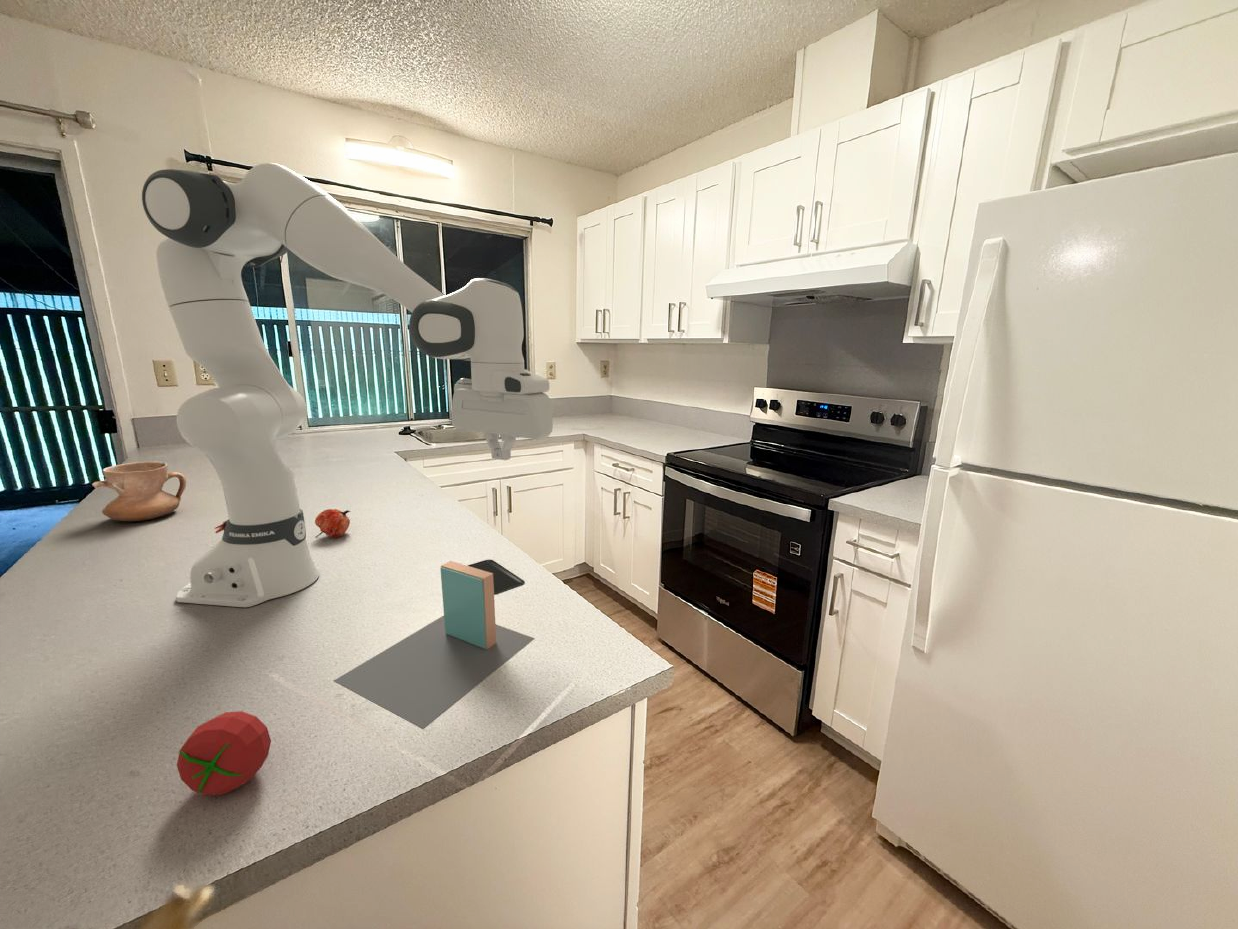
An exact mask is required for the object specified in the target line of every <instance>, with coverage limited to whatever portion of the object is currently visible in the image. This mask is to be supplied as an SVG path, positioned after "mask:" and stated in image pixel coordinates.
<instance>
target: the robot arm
mask: <svg viewBox="0 0 1238 929" xmlns="http://www.w3.org/2000/svg"><path fill="white" fill-rule="evenodd" d="M141 190H142V191H141V201H142V202H141V203H142V207H143V211H144V213H145V215H146V217H147V219H148V221H149V222H150V223H151V225H152V226H153V227H154V228H155V230H157V231H158V232H159V233H161V234H162V235H163V236H165V237H167V238H166V239H163V241H160V242H159V244H158V245H157V247H156V253H155V254H156V263H157V270H158V275H159V280H160V284H161V288H162V291H163V295H164V298H165V300H166V303H167V306H168V310H169V311H170V314H171V317H172V321H173V322H174V325H175V327H176V330H177V333H178V336H179V338H180V341H181V344H182V346H183V348H184V351H185V353H186V355H187V356H188V357H189V359H191V360H193V362H195V363H196V364H198V365H200V366H201V367H202V368H204V370H205V371H206V372H207V373H208V374H209V376H211V378H212V380H213V381H214V382H215V383H216V384H217V386H218V387H216V388H210V389H208V390H204V391H202V392H199V393H198V394H196V395H194V396H192V397H190V398H188V399H186V400H185V401H184V402H182V404H181V405H180V406H179V409H178V411H177V413H176V427H177V429H178V431H179V434H180V435H181V437H182V438H183V439H184V441H186V443H188V444H189V445H190V446H192V447H193V448H195V449H196V450H199V451H200V452H202V453H203V454H204V455H205V456H206V457H207V459H208V460H209V462H210V463H211V465H212V467H213V468H214V470H215V471H216V474H217V476H218V478H219V480H220V481H219V482H221V486H222V490H223V494H224V500H225V503H226V504H225V505H226V509H227V510H226V511H227V514H228V519H227V520H225V521H223V522H222V524H220V525H217V526H216V527H214V530H216V531H215V532H214V533H215V534H218V533H220V532H222V531H223V534H222V538H221V540H220V541H219V542H217V543H216V544H215V545H213V546H212V547H211V548H210V549H208V550H207V551H205V553H203V554H202V555H201V556H199V558H197V559H196V560H195V561H194V562H193V564H192V566H191V570H190V577H189V579H190V582H188V583H186V585H184V586H183V587H182V588H181V589H180V590H179V591H177V593H176V596H175V597H176V598H175V600H176V602H177V603H184V604H185V603H186V604H197V605H209V606H210V605H211V606H221V607H222V606H223V607H224V606H225V607H235V608H236V607H237V608H249V607H253V606H256V605H258V604H261V603H264V602H266V601H269V600H272V599H276V598H280V597H285V596H287V595H290V594H293V593H296V592H299V591H300V590H303V589H305V588H307V587H309V586H310V585H312V584H313V583H315V582H316V581H317V579H318V578H319V575H320V572H319V570H318V569H317V567H316V565H315V562H314V561H313V558H312V555H311V553H310V550H309V547H308V543H307V530H306V523H305V517H304V512H303V510H302V509H301V506H300V499H299V492H298V486H297V480H296V479H297V478H296V475H295V472H294V471H293V469H291V468H290V467H288V466H287V465H286V464H285V463H284V462H283V460H282V458H281V456H280V453H279V452H278V450H277V447H276V443H275V440H279V439H281V438H285V437H287V436H289V435H290V434H292V433H294V432H295V430H296V431H297V429H298V428H300V426H302V424H304V422H305V420H306V418H307V414H308V408H307V403H306V401H305V399H304V397H303V396H302V395H301V394H300V393H299V391H297V390H296V389H294V388H293V387H292V386H291V385H290V384H289V383H288V381H287V380H286V378H285V377H284V376H283V375H282V373H281V370H280V369H279V368H278V366H277V365H276V363H275V361H274V360H273V359H272V358H273V357H272V356H271V354H270V353H269V351H268V349H267V347H266V345H265V343H264V341H263V338H262V336H261V332H260V329H259V327H258V325H257V322H256V318H255V316H254V312H253V309H252V307H251V304H250V302H249V301H250V300H249V297H248V296H247V292H246V289H245V288H244V287H245V286H244V284H243V279H242V270H243V267H244V266H245V265H246V266H248V267H250V268H254V269H255V268H259V267H262V266H263V265H265V264H266V263H268V262H270V261H272V260H276V259H278V258H281V257H283V256H284V255H286V254H287V253H288V252H289V251H290V252H292V254H294V255H295V256H297V257H298V258H299V259H301V260H302V261H303V262H305V263H306V264H308V265H309V266H310V267H313V268H314V269H316V270H318V271H320V272H322V273H324V274H325V275H327V276H330V277H332V278H334V279H337V280H341V281H343V282H346V283H349V284H354V285H356V286H360V287H363V288H368V289H370V290H373V291H376V292H377V293H380V294H383V295H385V296H387V297H388V298H390V299H392V300H394V301H395V302H397V303H398V304H400V305H401V306H402V307H403V308H405V309H406V310H408V311H409V312H410V313H411V314H410V317H409V321H408V331H409V336H410V339H411V340H412V343H413V344H414V346H415V348H417V350H419V351H420V352H421V353H422V354H424V355H426V356H427V357H431V358H434V359H438V360H439V359H440V360H461V361H467V362H470V369H471V370H470V372H471V373H470V375H471V376H470V377H471V378H465V377H462V378H459V380H457V381H456V383H455V384H454V387H453V392H454V393H453V395H452V402H451V424H452V426H453V428H455V430H459V431H467V432H475V433H476V432H477V433H484V434H485V440H486V443H487V444H488V447H489V448H490V449H491V450H490V452H491V454H490V455H491V458H492V459H495V460H501V461H508V460H510V459H511V457H512V455H511V454H512V452H511V451H512V449H513V446H514V444H515V443H516V438H523V439H530V440H541V439H542V440H543V439H546V438H549V437H550V435H551V434H552V432H553V424H554V423H553V421H554V420H553V408H552V406H553V405H552V400H551V398H550V397H549V395H547V394H546V393H548V392H549V390H550V381H549V380H548V379H547V378H545V377H542V376H541V375H538V374H536V373H534V372H532V371H530V370H528V369H526V368H525V359H524V355H523V351H522V350H523V349H522V348H523V346H522V345H523V341H524V334H525V332H524V318H523V317H524V316H523V315H524V314H523V308H522V301H521V297H520V294H519V292H518V291H517V290H516V289H515V288H514V287H513V286H511V285H510V284H508V283H506V282H501V281H499V280H496V279H495V280H494V279H490V278H484V277H476V278H473V279H471V280H470V281H469V282H468V283H467V284H466V285H465V286H463V287H462V288H460V289H457V290H456V291H453V292H451V293H449V294H447V295H446V294H444V293H443V292H442V291H441V290H439V289H438V288H437V287H436V286H435V285H433V284H431V283H430V282H429V281H428V280H426V279H424V278H423V277H422V276H421V275H419V274H418V273H417V272H416V271H414V270H413V269H411V268H410V267H409V266H408V265H407V264H405V263H404V262H403V261H402V260H401V259H400V258H399V257H397V256H396V254H395V253H393V252H392V251H391V250H390V249H389V248H388V247H387V246H386V245H385V244H384V243H383V242H381V241H380V240H379V239H378V238H377V236H375V235H374V234H373V233H372V231H370V230H369V229H368V228H367V227H366V226H365V225H364V224H363V223H362V222H361V221H360V220H359V218H357V217H356V216H354V215H353V214H352V213H351V211H349V210H348V209H347V208H346V207H345V206H343V205H342V204H341V203H340V202H339V201H338V200H336V199H335V198H333V196H331V195H330V194H329V193H328V192H326V191H325V190H323V189H322V188H321V187H319V186H317V184H315V183H313V182H312V181H310V180H308V179H307V178H305V177H304V176H302V175H300V174H298V173H296V172H295V171H293V170H291V169H289V168H288V167H286V166H284V165H280V164H279V163H275V162H264V163H259V164H257V165H254V166H253V167H252V168H250V169H249V170H248V171H247V172H246V174H245V175H244V177H243V179H241V181H239V182H236V183H232V182H230V181H226V180H223V179H222V178H221V177H220V176H219V175H217V174H214V173H213V174H211V173H206V172H199V171H193V170H187V169H178V168H177V169H175V168H174V169H172V168H170V169H169V168H167V169H166V168H165V169H161V170H156V171H155V172H153V173H151V174H150V175H149V176H148V177H147V178H146V180H145V181H144V184H143V186H142V189H141ZM500 436H501V442H503V443H502V447H501V444H500V442H499V439H500Z"/></svg>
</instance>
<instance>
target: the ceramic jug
mask: <svg viewBox="0 0 1238 929" xmlns="http://www.w3.org/2000/svg"><path fill="white" fill-rule="evenodd" d="M102 473H103V476H104V478H105V481H104V480H99V481H94V482H93V483H92V484H91V485H92V487H94V488H95V489H98V488H101V487H104V488H108V489H112V490H114V491H115V492H116V493H117V494H118V496H117V497H116V498H115V499H113V500H111V501H110V502H109V503H107V504H106V506H105V507H104V508H103V509H102V510H101V513H102V514H103V515H104V516H106V517H107V518H109V519H111V520H114V521H118V522H141V521H147V520H152V519H153V520H154V519H157V518H161V517H164V516H166V515H168V514H171V513H173V512H174V511H175V510H177V509H178V507H179V506H180V503H181V500H182V495H183V493H184V491H185V489H186V486H187V480H186V479H187V478H186V477H185V475H184V474H183V473H180V472H175V471H172V472H168V463H167V462H165V461H164V462H163V461H137V462H129V463H122V464H116V465H111V466H108V467H105V468H103V469H102ZM172 478H177V479H178V481H179V487H178V489H177V491H176V494H175V495H174V494H172V493H169V492H167V491H165V490H163V488H164V484H165V483H166V482H167V481H169V480H170V479H172Z"/></svg>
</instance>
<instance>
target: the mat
mask: <svg viewBox="0 0 1238 929" xmlns="http://www.w3.org/2000/svg"><path fill="white" fill-rule="evenodd" d="M495 625H496V643H495V644H494V645H493V646H491V647H490V648H489V649H484V648H481V647H479V646H476V645H474V644H471V643H469V642H466V641H464V640H461V639H459V638H456V637H454V636H451V635H449V634H446V633H445V622H444V615H442V616H440V617H439V618H437V619H435V620H434V621H432V622H430V623H428V624H427V625H425V626H423V627H422V628H420V629H418V630H416V631H415V632H413V633H412V634H410V635H409V636H406V637H405V638H403V639H401V640H400V641H398V642H397V643H395V644H393V645H391V646H390V647H388V648H386V649H385V650H383V651H381V652H379V653H378V654H376V655H374V656H373V657H371V658H369V659H368V660H365V661H364V662H362V663H361V664H359V665H357V666H356V667H354V668H353V669H350V670H349V671H348V672H345V673H344V674H342V675H340V676H339V677H337V678H335V679H334V680H333V682H334V683H337V684H338V685H340V686H342V687H344V688H346V689H347V690H350V691H352V692H354V693H355V694H358V696H359V695H360V696H361V697H363V698H364V699H366V700H369V701H370V702H372V703H373V704H376V705H378V706H379V707H381V708H383V709H386V710H387V711H388V712H391V713H392V714H394V715H396V716H398V717H400V718H402V719H403V720H406V721H407V722H409V723H411V724H412V725H415V726H416V727H418V728H420V729H423V730H424V729H425V728H427V727H428V726H429V725H430V724H431V723H433V722H434V721H435V720H436V719H437V718H439V717H440V716H441V715H442V714H444V712H446V711H447V710H449V709H450V708H451V707H453V705H455V704H456V703H457V702H458V701H460V700H461V699H462V698H463V697H465V696H466V695H467V694H468V693H470V692H471V691H472V690H473V689H474V688H476V687H477V686H479V684H480V683H483V681H485V680H486V679H487V678H488V677H489V676H490V675H491V674H493V673H494V672H495V671H496V670H498V669H499V668H500V667H501V666H503V665H504V664H505V663H506V662H508V661H509V660H510V659H512V658H513V657H514V656H516V654H518V653H519V652H520V651H521V650H522V649H524V648H525V647H527V645H529V644H530V643H531V642H533V641H534V640H535V637H532V636H529V635H526V634H524V633H521V632H518V631H515V630H513V629H511V628H507V627H504V626H502V625H498V624H497V623H495Z"/></svg>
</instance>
